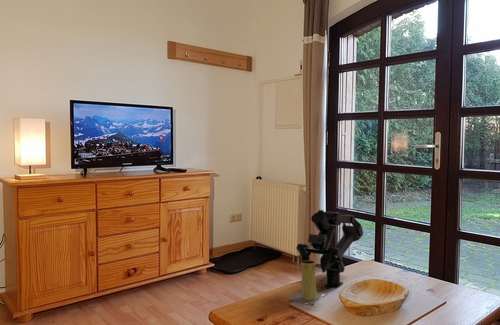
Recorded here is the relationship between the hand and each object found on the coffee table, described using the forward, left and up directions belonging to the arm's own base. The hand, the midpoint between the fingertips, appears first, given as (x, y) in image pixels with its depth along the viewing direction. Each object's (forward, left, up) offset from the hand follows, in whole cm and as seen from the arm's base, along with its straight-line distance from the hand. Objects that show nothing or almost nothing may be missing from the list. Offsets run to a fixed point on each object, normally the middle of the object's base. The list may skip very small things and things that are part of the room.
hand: (312, 270), depth 157 cm
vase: (+3, 0, -10) cm, 11 cm away
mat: (+1, -2, -11) cm, 11 cm away
